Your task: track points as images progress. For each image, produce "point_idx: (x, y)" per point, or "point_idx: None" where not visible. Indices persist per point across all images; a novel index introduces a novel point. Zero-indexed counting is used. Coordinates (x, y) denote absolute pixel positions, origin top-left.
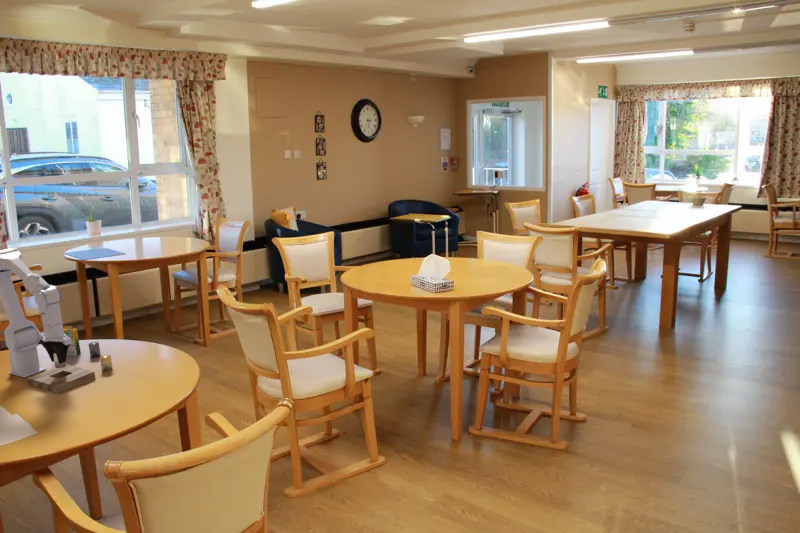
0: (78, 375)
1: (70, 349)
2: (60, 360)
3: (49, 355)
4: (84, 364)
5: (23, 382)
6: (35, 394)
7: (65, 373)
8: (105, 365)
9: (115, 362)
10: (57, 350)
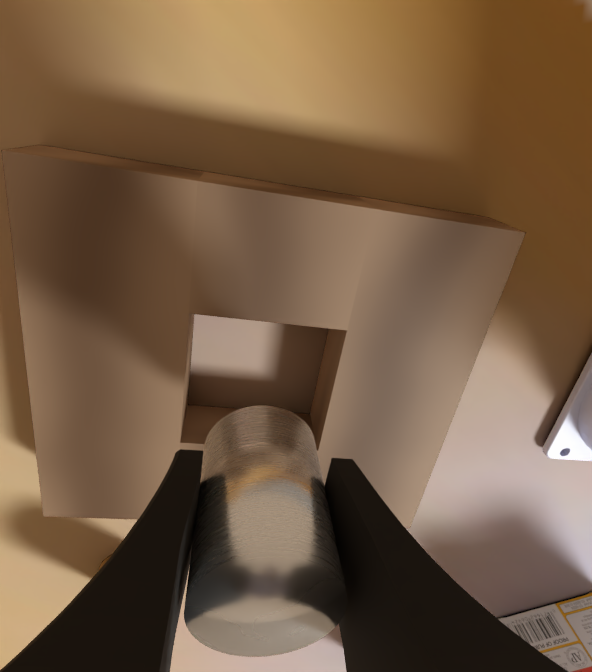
0: (84, 425)
1: (546, 650)
2: (163, 485)
3: (381, 515)
4: None
5: (568, 245)
6: (245, 53)
7: None
8: None
9: (191, 638)
10: (29, 647)
